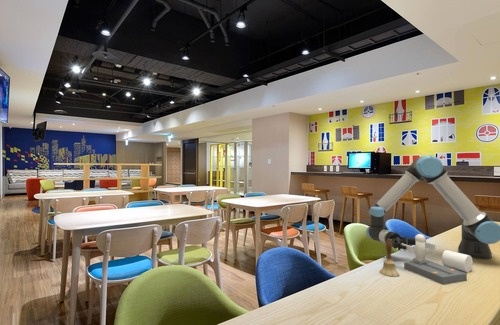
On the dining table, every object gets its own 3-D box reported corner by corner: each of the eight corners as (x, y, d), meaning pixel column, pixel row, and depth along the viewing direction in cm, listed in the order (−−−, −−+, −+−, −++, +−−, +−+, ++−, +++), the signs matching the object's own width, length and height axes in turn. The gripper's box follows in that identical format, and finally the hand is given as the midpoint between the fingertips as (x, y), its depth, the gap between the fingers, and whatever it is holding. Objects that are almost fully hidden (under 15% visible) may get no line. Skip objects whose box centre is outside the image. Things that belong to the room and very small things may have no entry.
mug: (464, 274, 132) (464, 256, 132) (441, 267, 141) (441, 251, 141) (477, 269, 138) (476, 253, 138) (454, 263, 147) (453, 247, 147)
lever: (420, 260, 141) (420, 232, 142) (428, 263, 137) (428, 235, 137) (412, 261, 140) (412, 233, 140) (420, 264, 135) (420, 235, 136)
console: (425, 265, 143) (425, 259, 143) (466, 280, 124) (466, 273, 124) (404, 268, 139) (404, 261, 139) (442, 284, 120) (442, 277, 120)
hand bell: (375, 271, 135) (375, 237, 135) (388, 269, 138) (388, 236, 138) (390, 277, 127) (389, 242, 127) (403, 275, 130) (403, 240, 131)
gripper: (407, 243, 160) (443, 254, 140) (371, 246, 153) (403, 259, 133) (407, 229, 160) (443, 238, 140) (371, 232, 153) (403, 242, 133)
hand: (424, 248), depth 136 cm, fingers open, 13 cm apart
